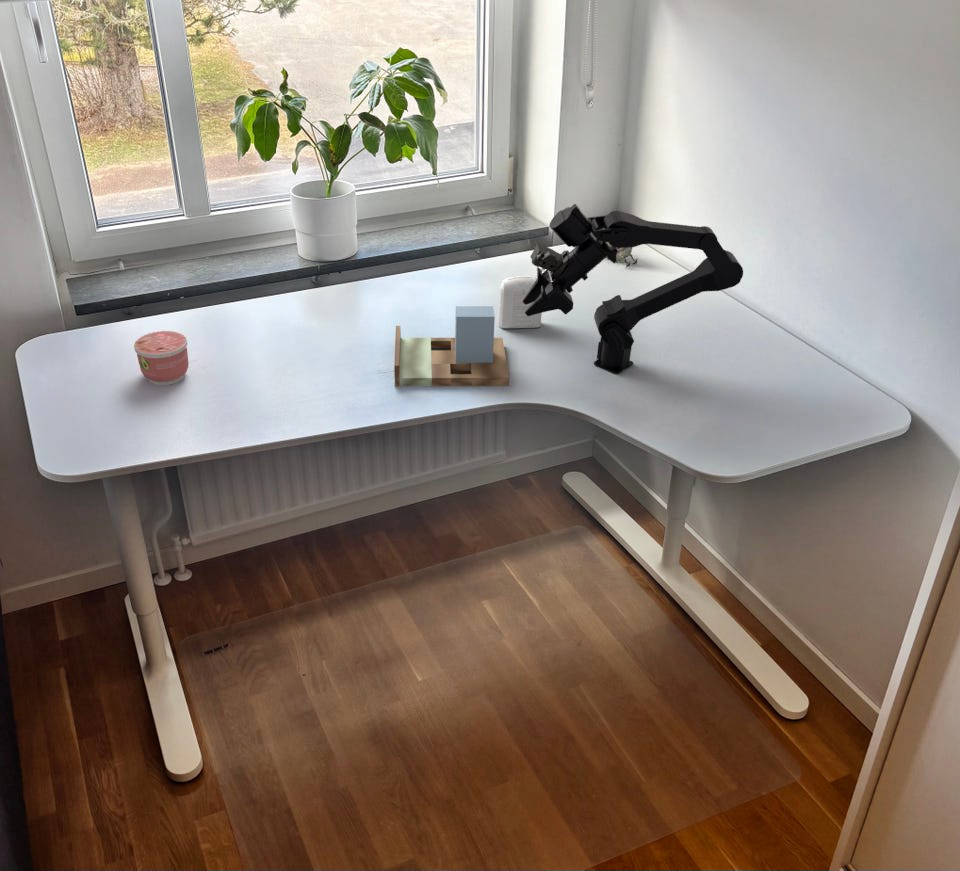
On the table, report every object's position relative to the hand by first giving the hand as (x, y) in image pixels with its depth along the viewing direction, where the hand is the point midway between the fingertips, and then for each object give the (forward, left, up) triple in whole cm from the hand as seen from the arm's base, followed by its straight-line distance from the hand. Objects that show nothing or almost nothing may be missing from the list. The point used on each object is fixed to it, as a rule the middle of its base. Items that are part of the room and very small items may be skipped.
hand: (525, 308), depth 202 cm
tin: (+7, +8, -12) cm, 16 cm away
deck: (+10, +10, -14) cm, 20 cm away
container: (+51, +57, -14) cm, 77 cm away
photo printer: (+13, -14, -14) cm, 24 cm away
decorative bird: (+20, -63, -14) cm, 67 cm away
